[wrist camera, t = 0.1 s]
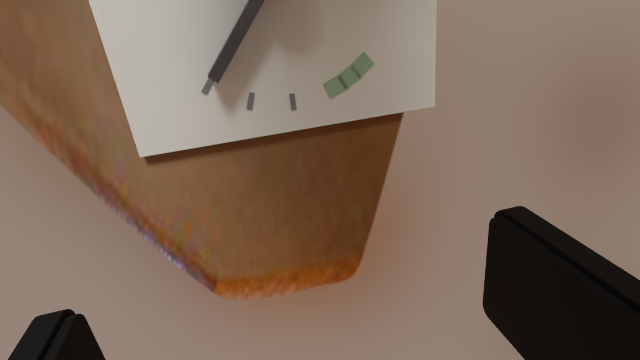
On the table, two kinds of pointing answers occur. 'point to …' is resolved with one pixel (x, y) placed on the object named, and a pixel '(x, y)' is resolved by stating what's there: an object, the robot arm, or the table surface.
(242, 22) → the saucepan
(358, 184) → the table surface
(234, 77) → the dial board
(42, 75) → the table surface
